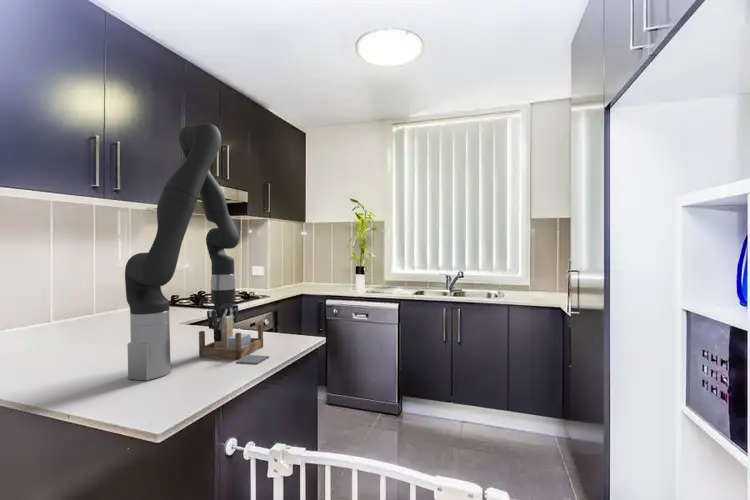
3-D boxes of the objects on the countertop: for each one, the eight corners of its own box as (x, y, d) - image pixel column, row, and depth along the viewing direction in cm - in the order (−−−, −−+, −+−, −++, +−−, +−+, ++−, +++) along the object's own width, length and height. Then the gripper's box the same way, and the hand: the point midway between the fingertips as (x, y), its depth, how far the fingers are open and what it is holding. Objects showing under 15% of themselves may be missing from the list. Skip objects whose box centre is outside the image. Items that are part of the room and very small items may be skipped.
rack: (239, 359, 116) (238, 333, 116) (199, 357, 119) (198, 331, 119) (263, 347, 130) (262, 323, 130) (227, 345, 133) (226, 322, 133)
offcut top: (238, 348, 119) (238, 338, 119) (228, 347, 120) (228, 337, 120) (250, 343, 125) (250, 334, 125) (240, 342, 126) (240, 333, 126)
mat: (257, 364, 111) (257, 362, 111) (235, 362, 112) (235, 361, 112) (269, 357, 117) (269, 356, 117) (248, 356, 119) (248, 354, 119)
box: (226, 351, 122) (226, 317, 122) (213, 351, 122) (213, 317, 122) (233, 347, 127) (232, 314, 127) (220, 347, 127) (220, 314, 127)
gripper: (219, 290, 117) (220, 345, 117) (245, 286, 131) (245, 334, 131) (198, 290, 118) (199, 343, 118) (226, 285, 132) (226, 333, 132)
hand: (223, 338), depth 125 cm, fingers closed on box, 5 cm apart
